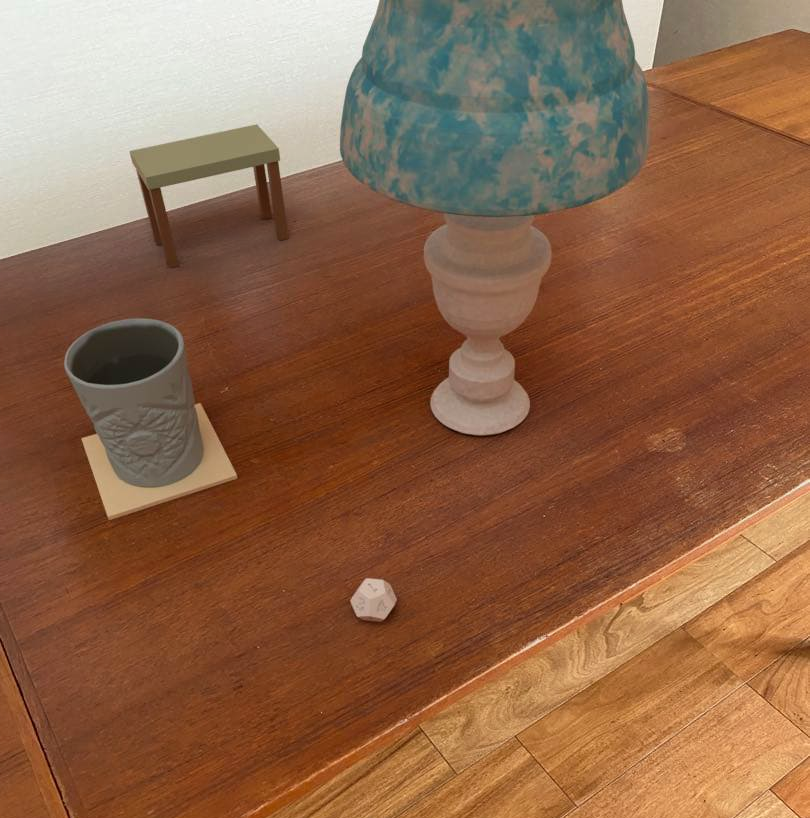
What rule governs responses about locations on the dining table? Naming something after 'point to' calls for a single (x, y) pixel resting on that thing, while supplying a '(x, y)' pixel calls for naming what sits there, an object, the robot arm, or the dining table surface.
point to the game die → (373, 600)
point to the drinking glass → (139, 399)
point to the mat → (133, 498)
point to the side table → (208, 174)
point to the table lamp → (493, 157)
